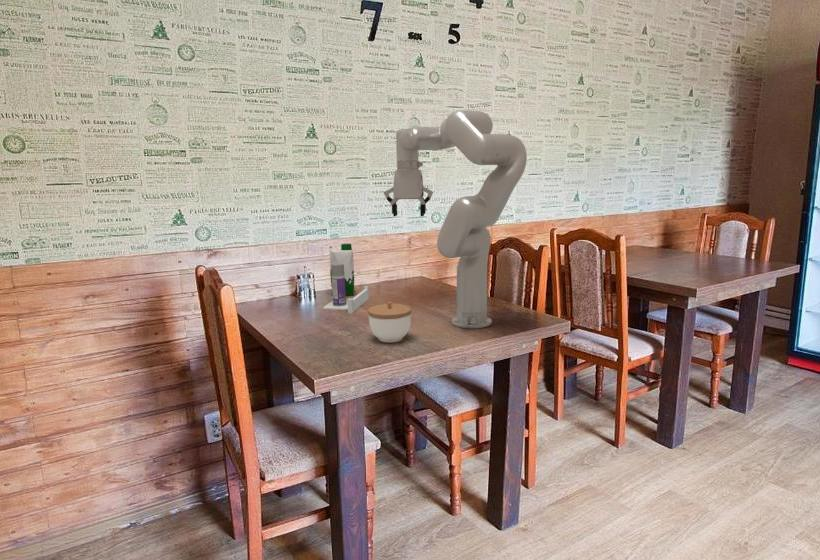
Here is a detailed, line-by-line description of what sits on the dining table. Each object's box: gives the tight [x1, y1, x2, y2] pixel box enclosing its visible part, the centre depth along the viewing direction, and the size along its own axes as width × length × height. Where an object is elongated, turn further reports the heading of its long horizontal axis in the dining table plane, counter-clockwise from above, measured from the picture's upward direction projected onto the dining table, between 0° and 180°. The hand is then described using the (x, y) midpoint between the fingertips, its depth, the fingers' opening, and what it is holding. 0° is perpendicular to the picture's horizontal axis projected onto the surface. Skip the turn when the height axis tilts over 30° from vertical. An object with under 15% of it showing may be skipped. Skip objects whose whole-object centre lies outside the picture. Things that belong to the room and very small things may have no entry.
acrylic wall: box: [346, 285, 370, 315], centre depth 200 cm, size 22×2×5 cm, turn 168°
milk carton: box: [329, 243, 355, 297], centre depth 217 cm, size 9×9×20 cm
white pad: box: [322, 300, 348, 311], centre depth 200 cm, size 9×9×1 cm
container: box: [331, 263, 347, 306], centre depth 199 cm, size 5×5×15 cm
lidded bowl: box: [367, 301, 412, 344], centre depth 161 cm, size 13×13×11 cm
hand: (408, 215), depth 193 cm, fingers open, 9 cm apart
